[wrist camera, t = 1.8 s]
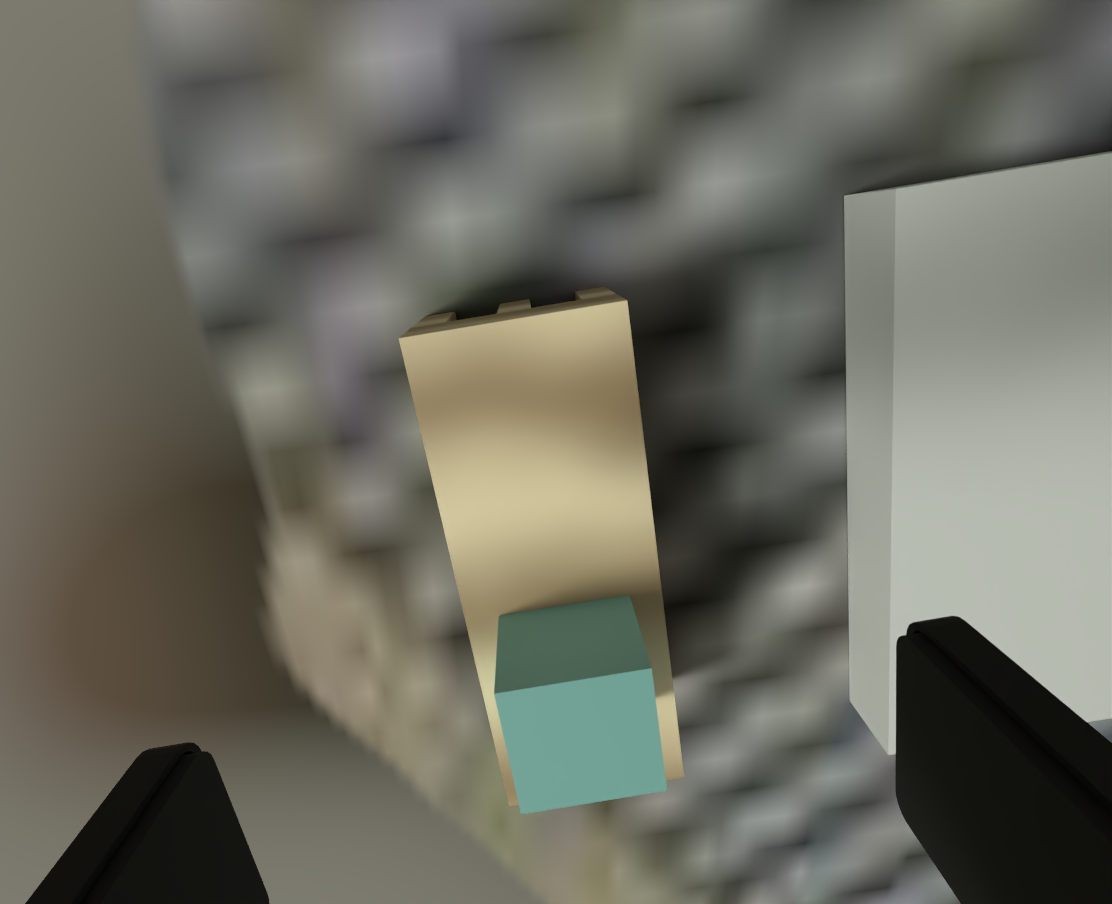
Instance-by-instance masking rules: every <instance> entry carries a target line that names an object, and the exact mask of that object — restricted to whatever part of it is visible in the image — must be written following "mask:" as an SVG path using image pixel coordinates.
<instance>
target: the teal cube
mask: <svg viewBox="0 0 1112 904" xmlns="http://www.w3.org/2000/svg"><path fill="white" fill-rule="evenodd" d="M494 696H495V700H496V705H497V709H498V714H499V718H500V723H501V727H502V731H503V736H504V740H505V745H506V749H507V754H508V758H509V763H510V767H511V772H512V776H513V780H514V785H515V789H516V794H517V798H518V803H519V807H520V812H521V814H526V813H532V812H538V811H544V810H550V809H557V808H563V807H569V806H575V805H581V804H587V803H593V802H600V801H606V800H612V799H618V798H624V797H630V796H636V795H643V794H649V793H655V792H661V791H667V786H666V778H665V770H664V762H663V754H662V746H661V738H660V730H659V722H658V714H657V706H656V698H655V690H654V682H653V675H652V668H651V664H650V661H649V658H648V654H647V651H646V648H645V644H644V641H643V638H642V635H641V631H640V628H639V625H638V621H637V618H636V615H635V612H634V608H633V605H632V602H631V598H630V595H624V596H618V597H611V598H605V599H599V600H593V601H587V602H581V603H575V604H568V605H562V606H556V607H550V608H544V609H538V610H531V611H525V612H519V613H513V614H507V615H501V616H499V618H498V635H497V652H496V669H495V686H494Z"/></svg>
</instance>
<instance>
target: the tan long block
mask: <svg viewBox="0 0 1112 904" xmlns="http://www.w3.org/2000/svg"><path fill="white" fill-rule="evenodd" d="M575 298H576V301H570V302H564V303H558V304H552V305H546V306H540V307H534V308H531V304H530V299H527V300H521V301H515V302H509V303H503V304H500V305H499V308H498V311H497V314H492V315H486V316H480V317H474V318H468V319H462V320H456V315H455V312H449V313H443V314H437V315H431V316H425V317H424V318H423V319H421V320H420V321H419V322H418V323H417V324H415V325H414V326H413V327H412V328H411V329H409V330H408V331H407V332H406V333H405V334H403V335H402V336H401V337H400V338H399V342H400V346H401V350H402V354H403V358H404V363H405V367H406V371H407V375H408V380H409V384H410V388H411V392H412V397H413V401H414V405H415V409H416V413H417V418H418V422H419V426H420V430H421V435H422V439H423V443H424V447H425V452H426V456H427V460H428V464H429V468H430V473H431V477H432V481H433V485H434V490H435V494H436V498H437V502H438V507H439V511H440V515H441V519H442V523H443V528H444V532H445V536H446V540H447V545H448V549H449V553H450V557H451V562H452V566H453V570H454V574H455V578H456V583H457V587H458V591H459V595H460V600H461V604H462V608H463V612H464V617H465V621H466V625H467V629H468V633H469V638H470V642H471V646H472V650H473V655H474V659H475V663H476V667H477V672H478V676H479V680H480V684H481V688H482V693H483V697H484V701H485V705H486V710H487V714H488V718H489V722H490V727H491V731H492V735H493V739H494V743H495V748H496V752H497V756H498V760H499V765H500V769H501V773H502V777H503V782H504V786H505V790H506V794H507V798H508V803H509V806H513V805H519V803H518V798H517V794H516V789H515V785H514V780H513V776H512V772H511V767H510V763H509V758H508V754H507V749H506V745H505V740H504V736H503V731H502V727H501V723H500V718H499V714H498V709H497V705H496V700H495V696H494V686H495V669H496V652H497V635H498V618H499V616H501V615H507V614H513V613H519V612H525V611H531V610H538V609H544V608H550V607H556V606H562V605H568V604H575V603H581V602H587V601H593V600H599V599H605V598H611V597H618V596H624V595H630V598H631V602H632V605H633V608H634V612H635V615H636V618H637V621H638V625H639V628H640V631H641V635H642V638H643V641H644V644H645V648H646V651H647V654H648V658H649V661H650V664H651V668H652V675H653V682H654V690H655V698H656V706H657V714H658V722H659V730H660V738H661V746H662V754H663V762H664V770H665V778H666V780H670V779H676V778H682V777H684V773H683V765H682V756H681V748H680V739H679V731H678V723H677V714H676V706H675V697H674V689H673V681H672V672H671V664H670V655H669V647H668V638H667V630H666V622H665V613H664V605H663V596H662V588H661V580H660V571H659V563H658V554H657V546H656V537H655V529H654V521H653V512H652V504H651V495H650V487H649V479H648V470H647V462H646V453H645V445H644V436H643V428H642V420H641V411H640V403H639V394H638V386H637V378H636V369H635V361H634V352H633V344H632V335H631V327H630V319H629V310H628V302H627V300H626V299H624V298H623V297H621V296H619V295H618V294H616V293H614V292H613V291H611V290H609V289H608V288H606V287H599V288H593V289H587V290H581V291H575Z"/></svg>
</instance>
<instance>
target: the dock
mask: <svg viewBox="0 0 1112 904" xmlns="http://www.w3.org/2000/svg"><path fill="white" fill-rule="evenodd" d="M844 229H845V320H846V411H847V502H848V593H849V684H850V702H851V703H852V705H853V706H854V707H855V709H856V710H857V712H858V713H859V714H860V716H861V717H862V719H863V720H864V721H865V723H866V724H867V726H868V727H869V729H870V730H871V731H872V733H873V734H874V736H875V737H876V738H877V740H878V741H879V743H880V744H881V745H882V747H883V748H884V750H885V751H886V752H887V754H888V755H891V754H896V644H897V640H898V638H899V637H900V636H903V635H906V633H907V628H908V626H909V624H911V623H913V622H918V621H924V620H930V619H936V618H942V617H948V616H958V617H960V618H962V619H963V620H965V621H966V622H967V623H969V624H970V625H971V626H972V627H973V628H974V629H976V630H977V631H978V632H979V633H980V634H982V635H983V636H984V637H985V638H986V639H988V640H989V641H990V642H991V643H992V644H994V645H995V646H996V647H997V648H998V649H1000V650H1001V651H1002V652H1003V653H1004V654H1006V655H1007V656H1008V657H1009V658H1010V659H1012V660H1013V661H1014V662H1015V663H1016V664H1018V665H1019V666H1020V667H1021V668H1022V669H1024V670H1025V671H1026V672H1027V673H1028V674H1030V675H1031V676H1032V677H1033V678H1034V679H1036V680H1037V681H1038V682H1039V683H1040V684H1041V685H1043V686H1044V687H1045V688H1046V689H1047V690H1049V691H1050V692H1051V693H1052V694H1053V695H1055V696H1056V697H1057V698H1058V699H1059V700H1061V701H1062V702H1063V703H1064V704H1065V705H1067V706H1068V707H1069V708H1070V709H1071V710H1073V711H1074V712H1075V713H1076V714H1077V715H1079V716H1080V717H1081V718H1082V719H1083V720H1085V721H1086V722H1091V721H1097V720H1103V719H1109V718H1112V151H1109V152H1103V153H1097V154H1091V155H1085V156H1079V157H1073V158H1067V159H1061V160H1055V161H1049V162H1043V163H1037V164H1031V165H1025V166H1019V167H1013V168H1007V169H1001V170H995V171H989V172H983V173H977V174H971V175H965V176H959V177H953V178H947V179H941V180H935V181H929V182H923V183H917V184H911V185H905V186H899V187H893V188H887V189H881V190H875V191H869V192H863V193H857V194H851V195H845V196H844Z"/></svg>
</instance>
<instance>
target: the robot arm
mask: <svg viewBox="0 0 1112 904" xmlns="http://www.w3.org/2000/svg"><path fill="white" fill-rule="evenodd" d="M896 797H897V801H898V804H899V807H900V810H901V812H902V814H903V817H904V819H905V820H906V822H907V824H908V825H909V827H910V828H911V830H912V831H913V833H914V834H915V836H916V837H917V839H918V840H919V842H920V843H921V845H922V846H923V848H924V849H925V851H926V852H927V854H928V855H929V857H930V858H931V860H932V861H933V862H934V864H935V865H936V867H937V868H938V870H939V871H940V873H941V874H942V876H943V877H944V879H945V880H946V882H947V883H948V885H949V886H950V888H951V889H952V891H953V892H954V894H955V895H956V897H957V898H958V900H959V901H960V903H961V904H1112V743H1111V742H1110V741H1108V740H1107V739H1106V738H1105V737H1104V736H1103V735H1101V734H1100V733H1099V732H1098V731H1097V730H1095V729H1094V728H1093V727H1092V726H1091V725H1089V724H1088V723H1087V722H1086V721H1085V720H1083V719H1082V718H1081V717H1080V716H1079V715H1077V714H1076V713H1075V712H1074V711H1073V710H1071V709H1070V708H1069V707H1068V706H1067V705H1065V704H1064V703H1063V702H1062V701H1061V700H1059V699H1058V698H1057V697H1056V696H1055V695H1053V694H1052V693H1051V692H1050V691H1049V690H1047V689H1046V688H1045V687H1044V686H1043V685H1041V684H1040V683H1039V682H1038V681H1037V680H1036V679H1034V678H1033V677H1032V676H1031V675H1030V674H1028V673H1027V672H1026V671H1025V670H1024V669H1022V668H1021V667H1020V666H1019V665H1018V664H1016V663H1015V662H1014V661H1013V660H1012V659H1010V658H1009V657H1008V656H1007V655H1006V654H1004V653H1003V652H1002V651H1001V650H1000V649H998V648H997V647H996V646H995V645H994V644H992V643H991V642H990V641H989V640H988V639H986V638H985V637H984V636H983V635H982V634H980V633H979V632H978V631H977V630H976V629H974V628H973V627H972V626H971V625H970V624H969V623H967V622H966V621H965V620H963V619H962V618H960V617H958V616H948V617H942V618H936V619H930V620H924V621H918V622H913V623H911V624H909V626H908V628H907V633H906V635H903V636H900V637H899V638H898V640H897V644H896ZM25 904H269V898H268V894H267V891H266V889H265V886H264V884H263V881H262V879H261V876H260V874H259V871H258V869H257V866H256V864H255V862H254V859H253V856H252V854H251V851H250V849H249V846H248V844H247V841H246V839H245V836H244V834H243V831H242V829H241V826H240V824H239V821H238V819H237V816H236V813H235V811H234V808H233V806H232V803H231V801H230V798H229V796H228V793H227V791H226V788H225V786H224V783H223V781H222V778H221V776H220V773H219V771H218V768H217V766H216V763H215V761H214V759H213V757H212V755H211V754H210V753H208V752H202V751H201V750H200V748H199V746H197V745H196V744H195V743H182V744H176V745H170V746H164V747H158V748H152V749H148V750H146V751H144V752H142V753H141V754H140V755H139V756H138V757H137V758H136V759H135V761H134V762H133V763H132V765H131V766H130V767H129V768H128V770H127V771H126V772H125V774H124V775H123V777H122V778H121V779H120V780H119V782H118V783H117V784H116V785H115V787H114V788H113V789H112V791H111V792H110V793H109V795H108V796H107V797H106V799H105V800H104V801H103V803H102V804H101V805H100V807H99V808H98V809H97V810H96V812H95V813H94V814H93V816H92V817H91V818H90V820H89V821H88V822H87V824H86V825H85V826H84V827H83V829H82V830H81V831H80V833H79V834H78V835H77V837H76V838H75V839H74V841H73V842H72V843H71V845H70V846H69V847H68V848H67V850H66V851H65V852H64V854H63V855H62V856H61V858H60V859H59V860H58V861H57V863H56V864H55V865H54V867H53V868H52V869H51V871H50V872H49V873H48V875H47V876H46V877H45V879H44V880H43V881H42V882H41V884H40V885H39V886H38V888H37V889H36V890H35V892H34V893H33V894H32V896H31V897H30V898H29V900H28V901H27V902H26V903H25Z"/></svg>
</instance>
